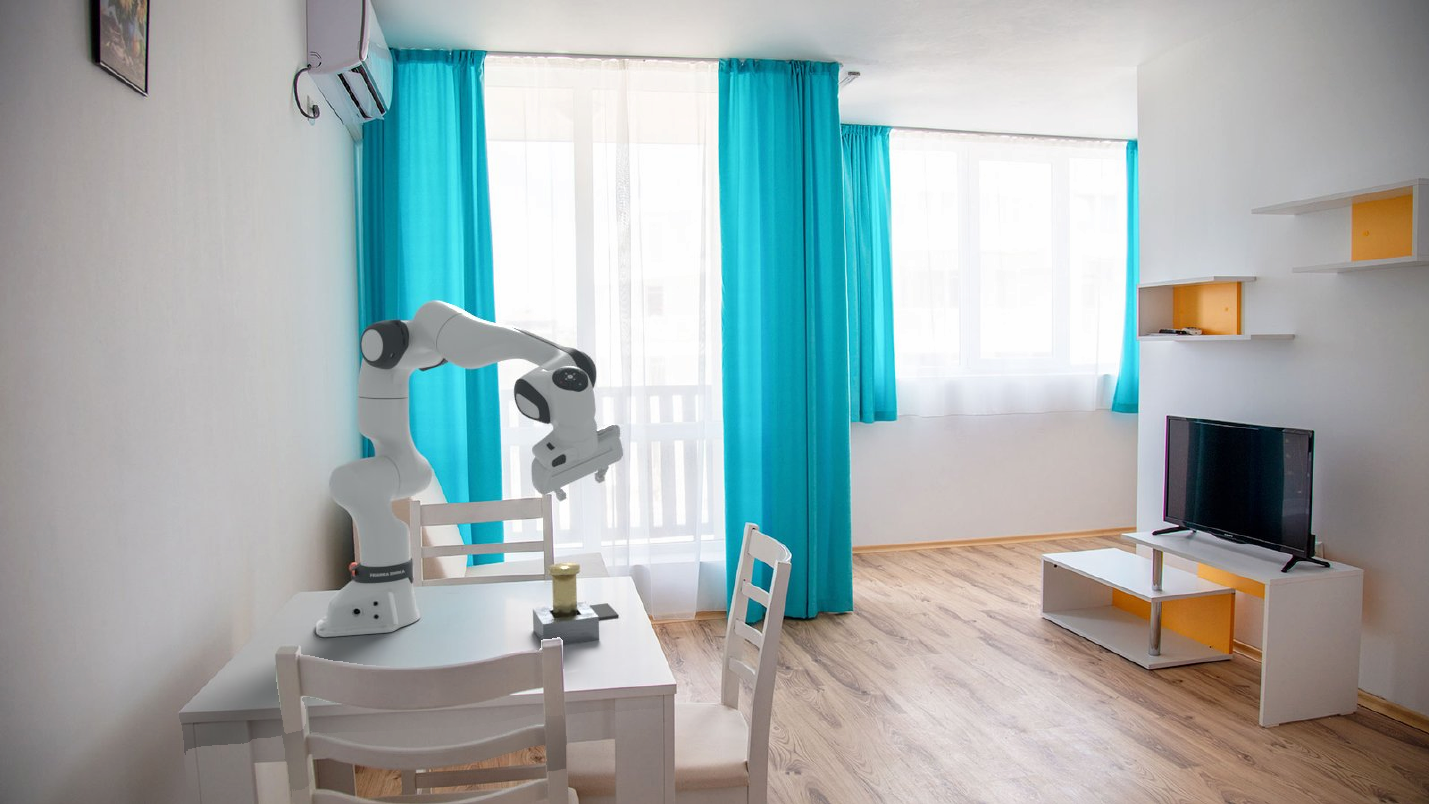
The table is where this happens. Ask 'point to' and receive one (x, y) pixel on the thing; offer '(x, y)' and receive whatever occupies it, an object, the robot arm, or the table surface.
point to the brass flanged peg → (564, 589)
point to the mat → (604, 611)
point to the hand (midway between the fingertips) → (581, 489)
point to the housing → (567, 624)
